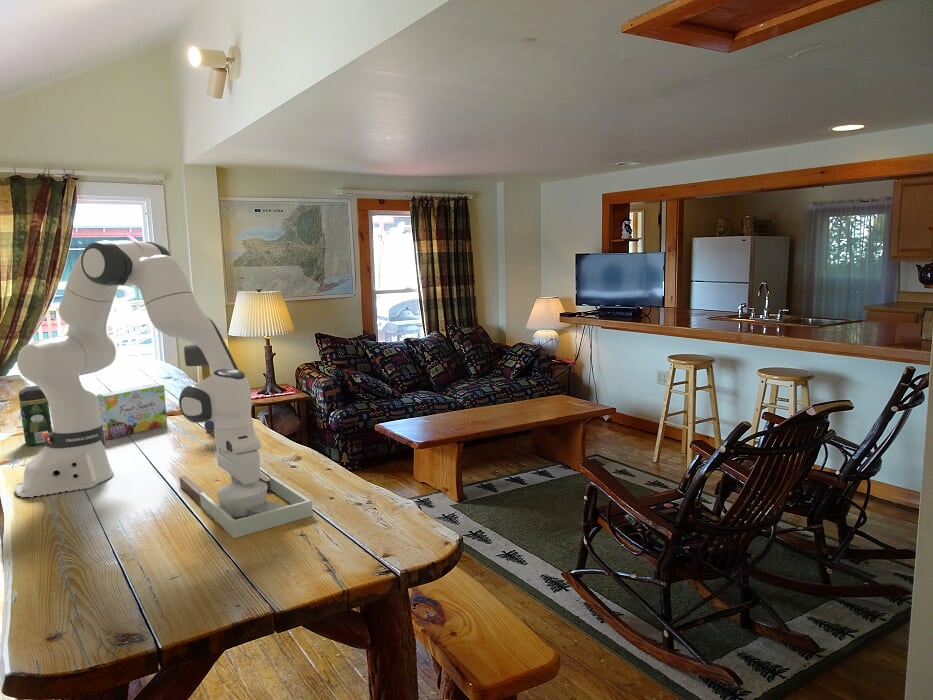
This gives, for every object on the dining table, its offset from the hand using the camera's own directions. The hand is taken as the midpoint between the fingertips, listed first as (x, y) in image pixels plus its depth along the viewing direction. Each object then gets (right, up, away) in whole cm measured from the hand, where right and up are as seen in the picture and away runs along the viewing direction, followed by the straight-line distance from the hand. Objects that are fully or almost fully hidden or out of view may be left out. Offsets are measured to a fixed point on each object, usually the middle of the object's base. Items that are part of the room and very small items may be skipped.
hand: (239, 492), depth 159 cm
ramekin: (+4, -3, -7) cm, 8 cm away
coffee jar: (-86, +4, +58) cm, 103 cm away
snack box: (-59, +6, +68) cm, 90 cm away
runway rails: (-6, -1, +8) cm, 10 cm away
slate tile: (+10, -3, -11) cm, 16 cm away
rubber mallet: (-32, +7, +66) cm, 73 cm away
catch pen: (+6, -3, -8) cm, 10 cm away
